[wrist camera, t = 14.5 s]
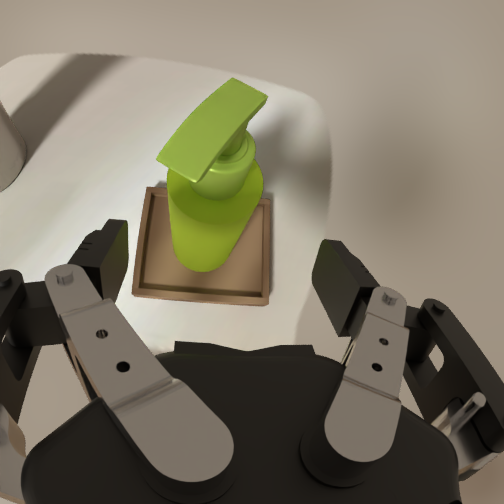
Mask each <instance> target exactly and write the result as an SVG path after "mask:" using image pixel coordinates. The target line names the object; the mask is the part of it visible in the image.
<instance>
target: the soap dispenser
mask: <svg viewBox="0 0 504 504" xmlns="http://www.w3.org/2000/svg"><path fill="white" fill-rule="evenodd" d="M267 98H268V96H267V95H266V94H264V93H262V92H260V91H258V90H256V89H254V88H252V87H250V86H249V85H247V84H245V83H243V82H241V81H239V80H237V79H235V78H231V79H230V80H228V81H227V82H226V83H224V84H223V85H222V86H221V87H220V88H218V89H217V90H216V91H215V92H214V93H212V94H211V95H210V96H209V97H208V98H207V99H206V100H205V101H203V102H202V103H201V104H200V105H199V106H198V107H197V108H196V109H195V110H194V111H193V112H192V113H191V114H190V115H189V116H188V118H187V119H186V120H185V121H184V122H183V123H182V124H181V126H180V127H179V128H178V129H177V130H176V132H175V133H174V134H173V136H172V137H171V138H170V139H169V141H168V142H167V143H166V145H165V146H164V147H163V149H162V150H161V152H160V153H159V155H158V156H157V158H156V160H157V161H158V162H160V163H162V164H163V165H165V166H167V167H168V168H169V169H168V173H167V193H168V204H169V214H170V224H171V233H172V242H173V249H174V253H175V255H176V257H177V259H178V260H179V261H180V262H181V263H182V264H183V265H184V266H185V267H187V268H189V269H191V270H193V271H197V272H208V271H212V270H215V269H217V268H218V267H220V266H221V265H222V264H224V262H225V261H226V260H227V259H228V257H229V255H230V253H231V251H232V250H233V248H234V246H235V244H236V242H237V240H238V239H239V237H240V235H241V233H242V231H243V229H244V228H245V226H246V224H247V222H248V220H249V219H250V217H251V215H252V213H253V211H254V210H255V208H256V206H257V204H258V202H259V200H260V198H261V195H262V192H263V176H262V172H261V170H260V167H259V165H258V164H257V162H256V161H255V159H254V157H255V153H256V146H255V142H254V140H253V138H252V136H251V135H250V133H249V132H248V131H247V130H246V128H247V125H248V122H249V121H250V120H251V119H252V118H253V116H254V115H255V114H256V113H257V112H258V111H259V110H260V109H261V108H262V107H263V106H264V105H265V103H266V100H267Z"/></svg>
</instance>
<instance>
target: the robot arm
mask: <svg viewBox="0 0 504 504" xmlns="http://www.w3.org/2000/svg"><path fill="white" fill-rule="evenodd" d="M25 158H26V144H25V142H24V140H23V139H22V137H21V135H20V134H19V132H18V131H17V129H16V127H15V126H14V124H13V122H12V120H11V119H10V117H9V115H8V114H7V112H6V110H5V108H4V107H3V105H2V103H1V101H0V192H1V191H2V190H4V189H5V188H6V187H8V186H9V185H10V184H11V183H12V182H13V180H14V179H15V178H16V177H17V175H18V174H19V172H20V170H21V168H22V166H23V164H24V161H25ZM128 259H129V253H128V223H127V220H116V219H109V220H108V221H107V222H106V224H105V225H104V227H103V228H102V230H95V231H93V232H92V233H90V234H88V235H87V236H86V237H85V239H84V240H83V241H82V244H80V246H79V247H78V249H77V250H76V251H75V253H74V254H73V256H72V257H71V259H70V260H69V262H68V263H67V264H64V265H59V266H56V267H54V268H52V269H51V270H50V271H48V272H47V274H46V275H45V281H40V282H30V283H24V280H23V276H22V274H21V273H20V272H19V271H17V270H13V269H9V270H3V271H0V497H1V498H3V499H6V500H9V501H11V502H14V503H17V504H462V501H461V497H460V491H459V481H464V480H466V479H468V478H469V477H470V476H472V475H473V474H475V473H476V472H477V471H479V470H480V469H482V468H483V467H484V466H485V465H487V464H488V463H489V462H491V461H492V460H493V459H494V458H496V457H497V456H498V455H499V454H501V453H502V452H503V451H504V383H503V382H502V380H501V379H500V377H499V376H498V374H497V373H496V371H495V370H494V368H493V367H492V365H491V364H490V362H489V361H488V360H487V358H486V357H485V355H484V354H483V352H482V351H481V350H480V348H479V347H478V346H477V344H476V343H475V341H474V340H473V339H472V338H471V336H470V335H469V333H468V332H467V331H466V330H465V328H464V327H463V326H462V324H461V323H460V322H459V320H458V319H457V318H456V317H455V315H454V314H453V313H452V312H451V310H450V309H449V308H448V307H447V306H446V305H444V304H443V303H441V302H440V301H437V300H435V299H425V300H424V302H423V304H422V306H421V308H420V309H419V308H415V307H411V306H407V302H406V300H405V298H404V297H403V296H402V295H401V294H400V293H398V292H397V291H395V290H393V289H391V288H387V287H381V286H380V285H379V284H378V283H377V281H376V280H375V279H374V277H373V276H372V275H371V274H370V273H369V271H368V270H367V268H365V266H364V265H363V263H362V262H361V261H360V260H359V259H358V258H357V257H355V256H354V255H353V254H351V253H350V252H349V250H348V249H347V248H346V247H345V245H344V244H343V243H342V242H341V241H336V240H327V239H324V240H323V241H322V242H321V245H320V248H319V251H318V255H317V258H316V261H315V264H314V268H313V271H312V284H313V286H314V288H315V290H316V292H317V294H318V296H319V298H320V300H321V302H322V304H323V306H324V308H325V310H326V312H327V315H328V317H329V319H330V320H331V323H332V325H333V327H334V329H335V331H336V333H337V335H338V337H346V336H347V337H349V336H351V340H350V342H349V344H348V346H347V348H346V351H345V353H344V355H343V358H342V360H341V362H340V363H339V362H337V361H335V360H333V359H330V358H327V357H324V356H320V355H316V354H315V352H314V349H313V346H312V345H279V346H274V347H269V348H264V349H259V350H253V351H242V350H238V349H233V348H228V347H224V346H220V345H215V344H211V343H197V342H182V341H175V346H174V351H173V352H167V353H162V354H158V355H155V356H154V355H153V354H152V353H151V352H150V350H149V349H148V348H147V346H146V345H145V344H144V343H143V341H142V340H141V339H140V337H139V336H138V335H137V334H136V332H135V331H134V330H133V328H132V327H131V326H130V324H129V323H128V322H127V320H126V319H125V317H124V316H123V315H122V313H121V312H120V311H119V309H118V308H117V306H116V305H115V302H116V299H117V296H118V293H119V291H120V288H121V285H122V282H123V280H124V277H125V274H126V272H127V268H128ZM4 335H6V336H5V338H4V340H3V342H2V339H3V337H4ZM54 344H62V345H63V348H64V350H65V352H66V354H67V357H68V359H69V361H70V363H71V365H72V367H73V369H74V371H75V373H76V375H77V377H78V379H79V381H80V383H81V385H82V387H83V390H84V392H85V394H86V396H87V398H88V400H89V402H90V403H89V404H88V405H86V406H85V407H84V408H82V409H81V410H80V411H79V412H77V413H76V414H75V415H74V416H73V417H71V418H70V419H68V420H67V421H66V422H65V423H63V424H62V425H61V426H60V427H58V428H57V429H56V430H55V431H53V432H52V433H51V434H49V435H48V436H47V437H46V438H44V439H43V440H42V441H41V442H39V443H38V444H37V445H36V446H35V447H34V448H33V449H32V450H31V451H30V452H29V454H28V455H27V457H26V452H25V446H26V445H25V444H26V442H25V436H24V434H23V432H22V430H21V429H20V427H19V426H18V425H17V424H18V420H19V416H20V413H21V409H22V405H23V402H24V398H25V395H26V391H27V388H28V385H29V382H30V378H31V376H32V373H33V370H34V367H35V364H36V361H37V358H38V355H39V353H40V350H41V347H42V346H45V345H54ZM436 344H437V346H438V347H439V349H440V350H441V352H442V353H443V356H444V364H443V366H442V368H441V369H440V371H439V372H437V370H436V368H435V366H434V365H433V363H432V361H431V360H430V358H429V354H430V353H431V351H432V350H433V348H434V347H435V345H436ZM402 376H404V378H405V380H406V382H407V384H408V387H409V389H410V391H411V393H412V395H413V397H414V398H415V401H416V403H417V405H418V407H419V409H420V411H421V414H422V416H423V418H424V419H422V418H421V417H419V416H418V415H416V414H415V413H413V412H412V411H410V410H409V409H407V408H406V407H404V406H403V405H401V401H400V400H399V391H400V387H401V381H402Z"/></svg>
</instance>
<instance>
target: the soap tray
mask: <svg viewBox="0 0 504 504" xmlns="http://www.w3.org/2000/svg"><path fill="white" fill-rule="evenodd" d="M269 262H270V199H263V198H260V200H259V202H258V204H257V206H256V208H255V210H254V211H253V213H252V215H251V217H250V219H249V220H248V222H247V224H246V226H245V228H244V229H243V231H242V233H241V235H240V237H239V239H238V240H237V242H236V244H235V246H234V248H233V250H232V251H231V253H230V255H229V257H228V259H227V260H226V261H225V262H224V264H222V265H221V266H220V267H218V268H217V269H215V270H212V271H208V272H197V271H193V270H191V269H189V268H187V267H185V266H184V265H183V264H182V263H181V262H180V261H179V260H178V259H177V257H176V255H175V253H174V249H173V242H172V233H171V224H170V214H169V204H168V193H167V188H157V187H147V188H146V194H145V199H144V205H143V211H142V217H141V223H140V229H139V236H138V243H137V250H136V258H135V266H134V275H133V284H132V295H134V296H135V297H143V298H153V299H164V300H175V301H188V302H200V303H214V304H230V305H247V306H266V305H268V304H269Z"/></svg>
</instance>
